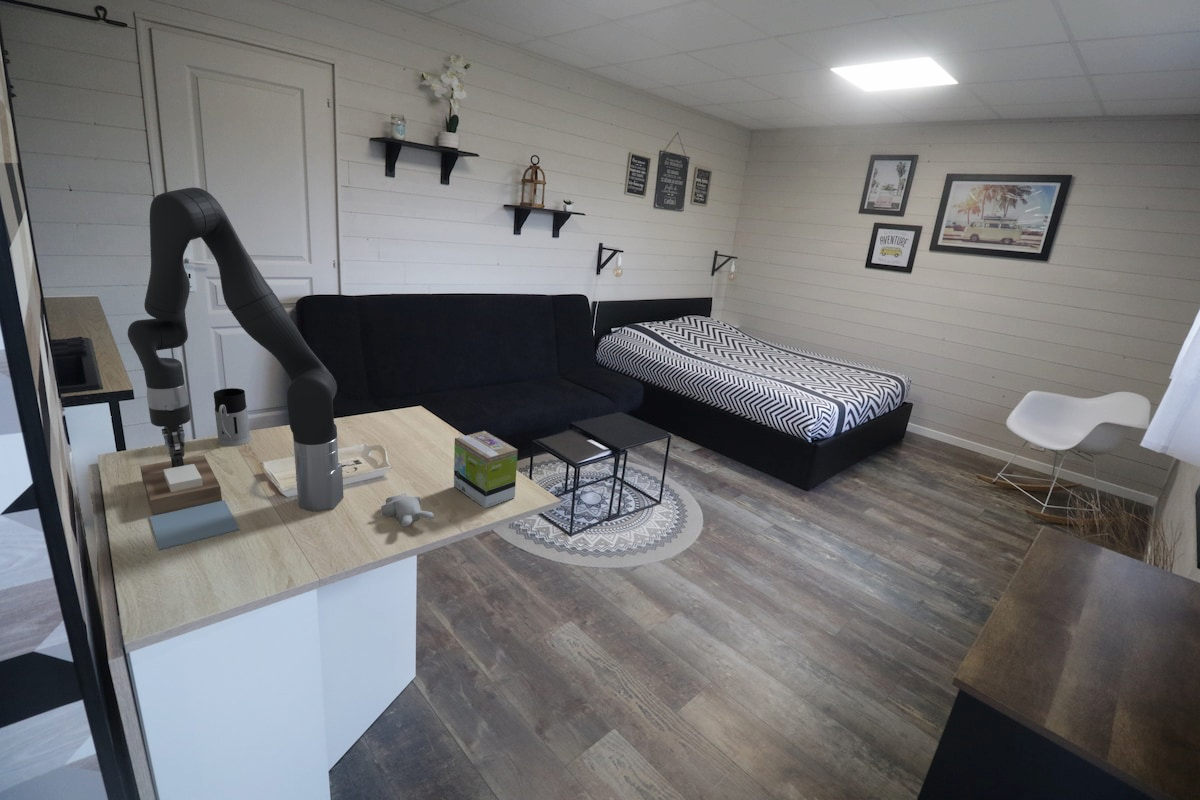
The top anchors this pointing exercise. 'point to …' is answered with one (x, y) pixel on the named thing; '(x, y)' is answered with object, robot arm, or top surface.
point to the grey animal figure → (405, 509)
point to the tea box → (485, 468)
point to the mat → (192, 524)
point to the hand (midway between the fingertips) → (178, 469)
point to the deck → (182, 499)
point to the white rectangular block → (182, 477)
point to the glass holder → (231, 417)
